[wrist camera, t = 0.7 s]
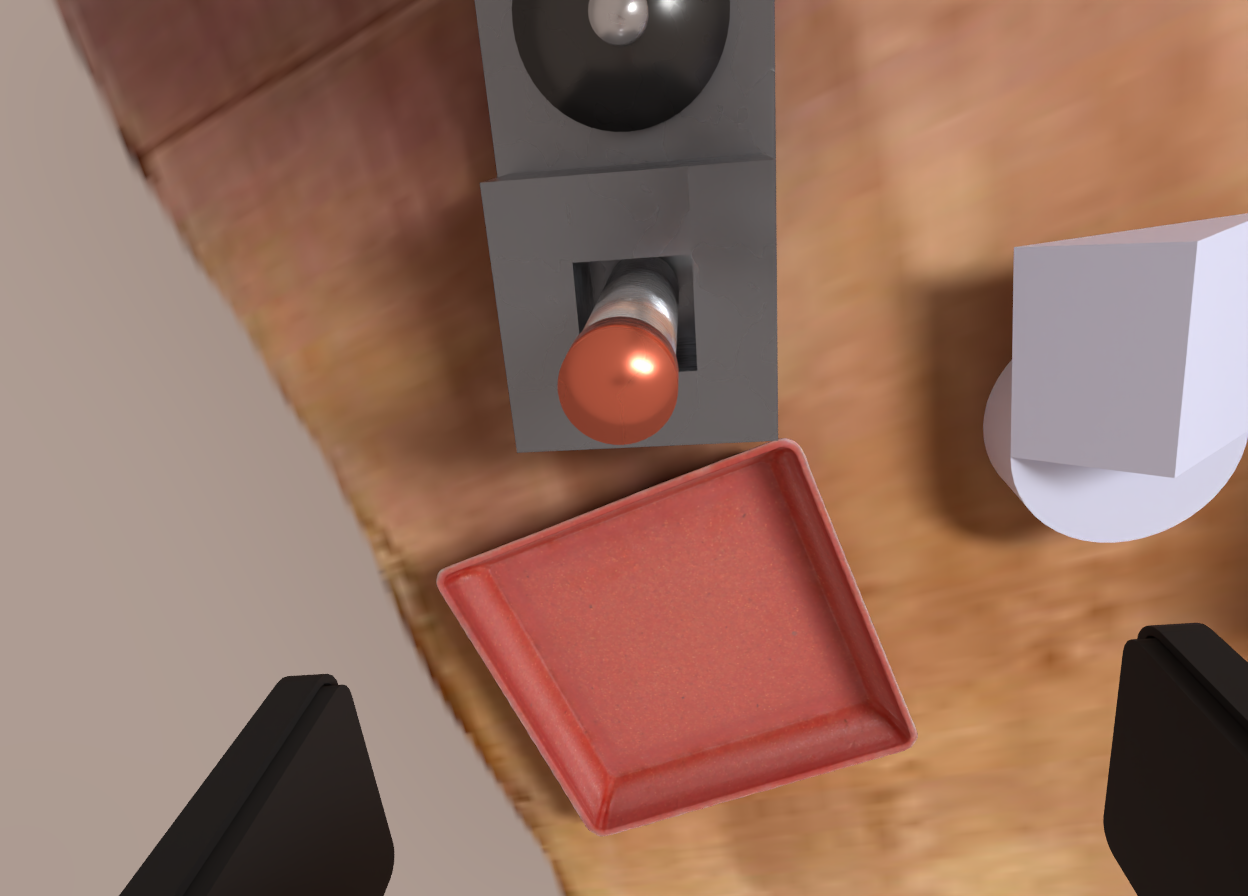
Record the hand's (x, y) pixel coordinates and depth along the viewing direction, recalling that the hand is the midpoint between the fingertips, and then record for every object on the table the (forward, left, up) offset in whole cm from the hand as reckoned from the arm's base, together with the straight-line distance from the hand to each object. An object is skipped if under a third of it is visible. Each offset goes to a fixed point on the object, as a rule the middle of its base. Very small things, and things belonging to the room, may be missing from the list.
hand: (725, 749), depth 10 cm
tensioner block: (-5, -2, -27) cm, 27 cm away
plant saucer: (+17, -2, -28) cm, 32 cm away
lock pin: (-1, -2, -26) cm, 26 cm away
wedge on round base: (+4, +17, -27) cm, 32 cm away
